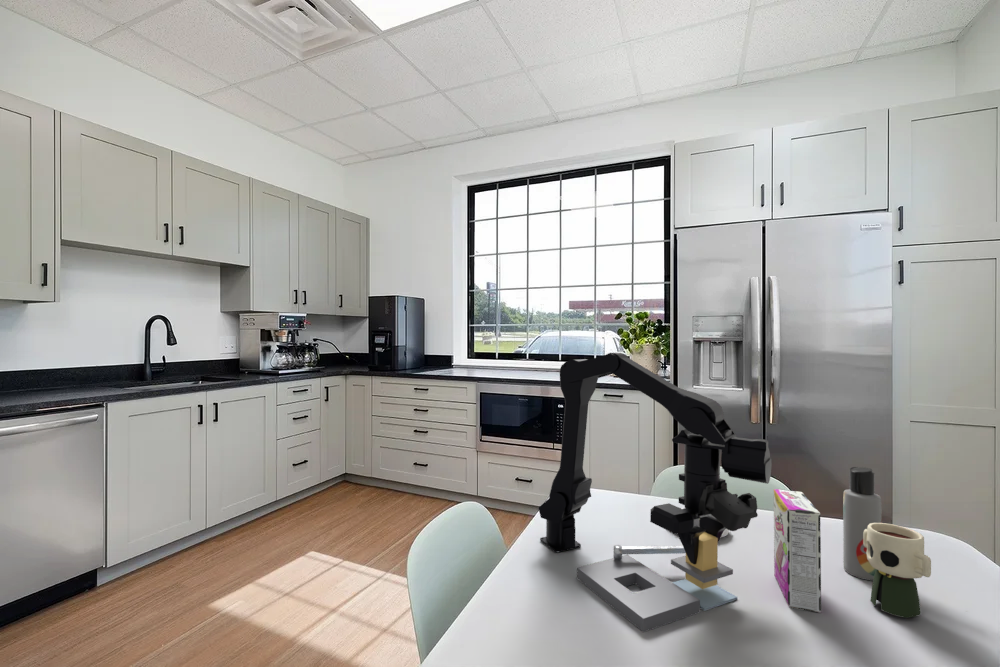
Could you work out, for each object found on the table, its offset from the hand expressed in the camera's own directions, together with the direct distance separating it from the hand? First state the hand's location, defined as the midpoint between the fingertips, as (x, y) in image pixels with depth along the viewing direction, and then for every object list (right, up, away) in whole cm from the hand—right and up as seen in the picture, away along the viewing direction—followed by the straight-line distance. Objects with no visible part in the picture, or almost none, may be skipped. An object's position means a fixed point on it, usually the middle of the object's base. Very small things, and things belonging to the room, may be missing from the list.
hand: (700, 561), depth 79 cm
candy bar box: (+17, -6, 0) cm, 18 cm away
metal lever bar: (-4, -3, +8) cm, 9 cm away
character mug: (+30, -6, -5) cm, 31 cm away
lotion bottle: (+34, -6, +7) cm, 35 cm away
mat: (0, -5, 0) cm, 5 cm away
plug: (0, -4, 0) cm, 4 cm away
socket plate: (-12, -5, -1) cm, 13 cm away
